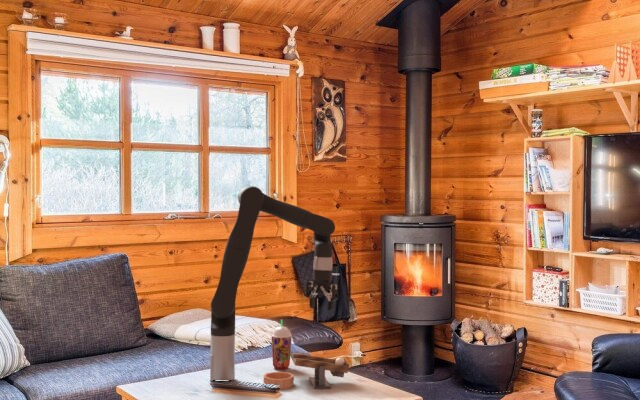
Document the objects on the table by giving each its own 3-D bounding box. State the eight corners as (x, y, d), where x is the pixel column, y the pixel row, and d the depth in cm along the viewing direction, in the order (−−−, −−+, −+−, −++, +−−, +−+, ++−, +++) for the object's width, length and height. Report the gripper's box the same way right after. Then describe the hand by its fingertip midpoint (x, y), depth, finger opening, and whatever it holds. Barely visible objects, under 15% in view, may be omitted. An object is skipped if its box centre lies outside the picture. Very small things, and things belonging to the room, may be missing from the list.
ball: (334, 365, 270) (338, 357, 270) (333, 363, 273) (337, 355, 273) (343, 369, 270) (346, 360, 270) (341, 367, 274) (345, 358, 274)
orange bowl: (264, 389, 262) (264, 379, 262) (262, 381, 273) (262, 372, 273) (294, 388, 264) (294, 379, 264) (291, 380, 275) (291, 371, 275)
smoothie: (282, 372, 288) (282, 322, 288) (266, 368, 293) (267, 319, 293) (295, 368, 294) (296, 319, 294) (280, 365, 300) (280, 317, 299)
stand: (314, 389, 263) (314, 367, 263) (309, 379, 277) (309, 358, 277) (330, 388, 264) (330, 366, 264) (324, 378, 278) (324, 358, 278)
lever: (293, 370, 265) (296, 356, 265) (288, 360, 282) (291, 346, 282) (346, 378, 268) (349, 364, 268) (338, 367, 285) (340, 354, 285)
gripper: (302, 267, 286) (301, 308, 286) (331, 270, 277) (330, 312, 277) (314, 266, 292) (312, 306, 292) (343, 269, 283) (341, 310, 283)
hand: (321, 309), depth 284 cm, fingers open, 8 cm apart
